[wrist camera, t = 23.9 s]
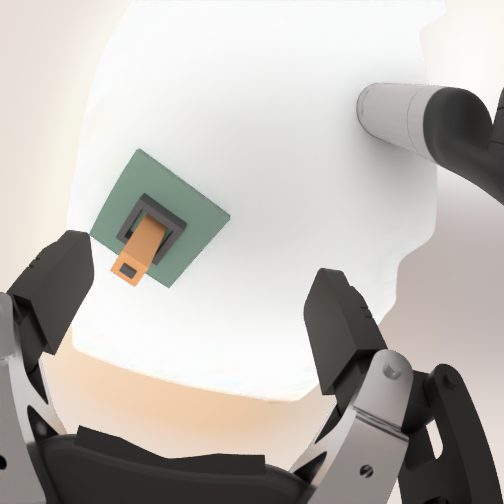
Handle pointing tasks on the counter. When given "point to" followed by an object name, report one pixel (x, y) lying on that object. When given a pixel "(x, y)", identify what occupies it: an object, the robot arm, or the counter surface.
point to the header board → (158, 216)
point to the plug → (139, 250)
